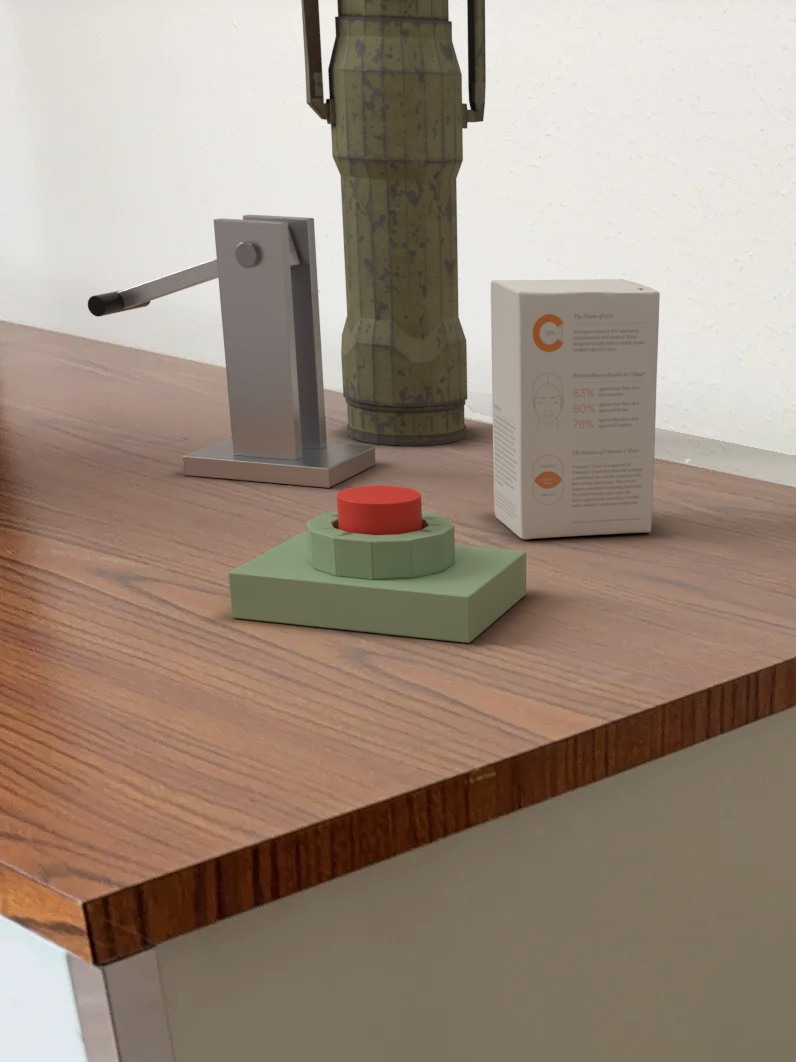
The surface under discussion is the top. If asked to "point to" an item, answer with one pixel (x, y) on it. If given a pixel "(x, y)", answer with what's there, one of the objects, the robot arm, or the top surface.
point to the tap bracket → (273, 361)
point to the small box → (573, 405)
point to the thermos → (399, 208)
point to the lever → (162, 287)
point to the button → (379, 510)
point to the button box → (380, 582)
